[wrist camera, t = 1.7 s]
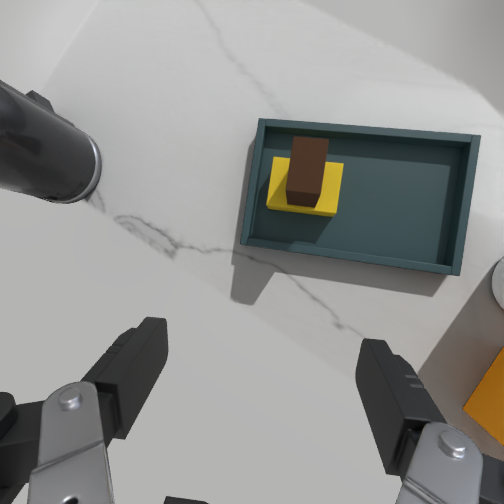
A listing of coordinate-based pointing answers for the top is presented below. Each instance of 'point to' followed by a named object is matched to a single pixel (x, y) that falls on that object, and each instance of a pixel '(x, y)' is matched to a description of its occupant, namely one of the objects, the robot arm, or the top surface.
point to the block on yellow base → (305, 179)
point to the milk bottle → (499, 283)
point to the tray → (372, 196)
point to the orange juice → (490, 400)
